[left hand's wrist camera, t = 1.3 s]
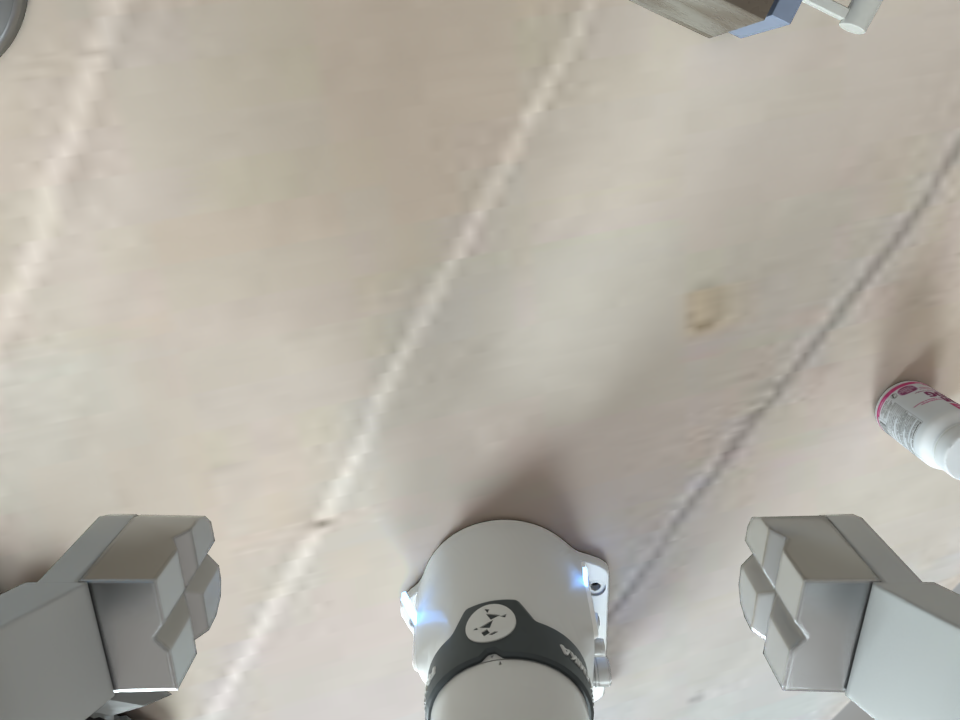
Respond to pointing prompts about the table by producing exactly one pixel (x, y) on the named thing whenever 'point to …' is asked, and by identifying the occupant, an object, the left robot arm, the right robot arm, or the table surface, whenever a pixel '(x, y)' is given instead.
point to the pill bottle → (923, 423)
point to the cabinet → (710, 13)
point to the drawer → (788, 3)
